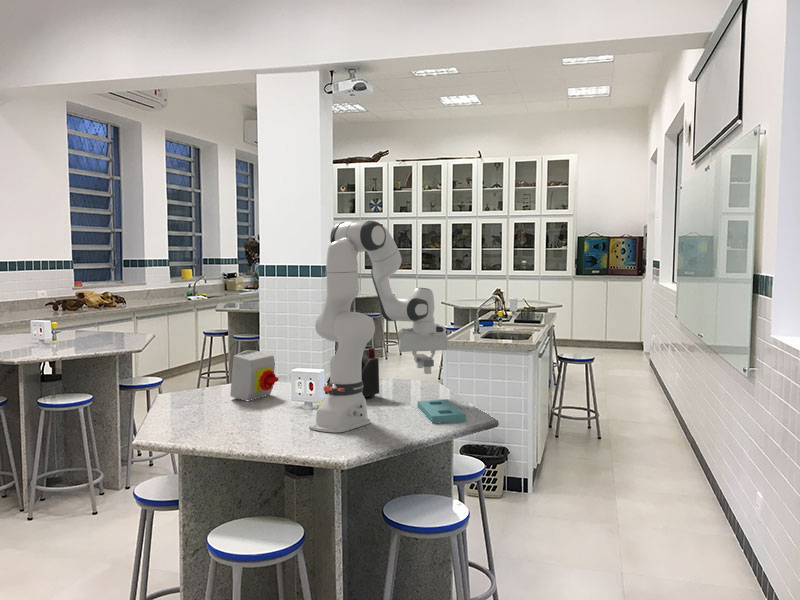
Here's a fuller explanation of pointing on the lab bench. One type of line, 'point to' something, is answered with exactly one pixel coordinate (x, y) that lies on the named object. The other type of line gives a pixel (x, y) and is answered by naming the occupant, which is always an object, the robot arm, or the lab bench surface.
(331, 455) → the lab bench surface
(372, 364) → the voltmeter
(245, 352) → the electrical switch box
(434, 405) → the mounting plate
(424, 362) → the pin bar
